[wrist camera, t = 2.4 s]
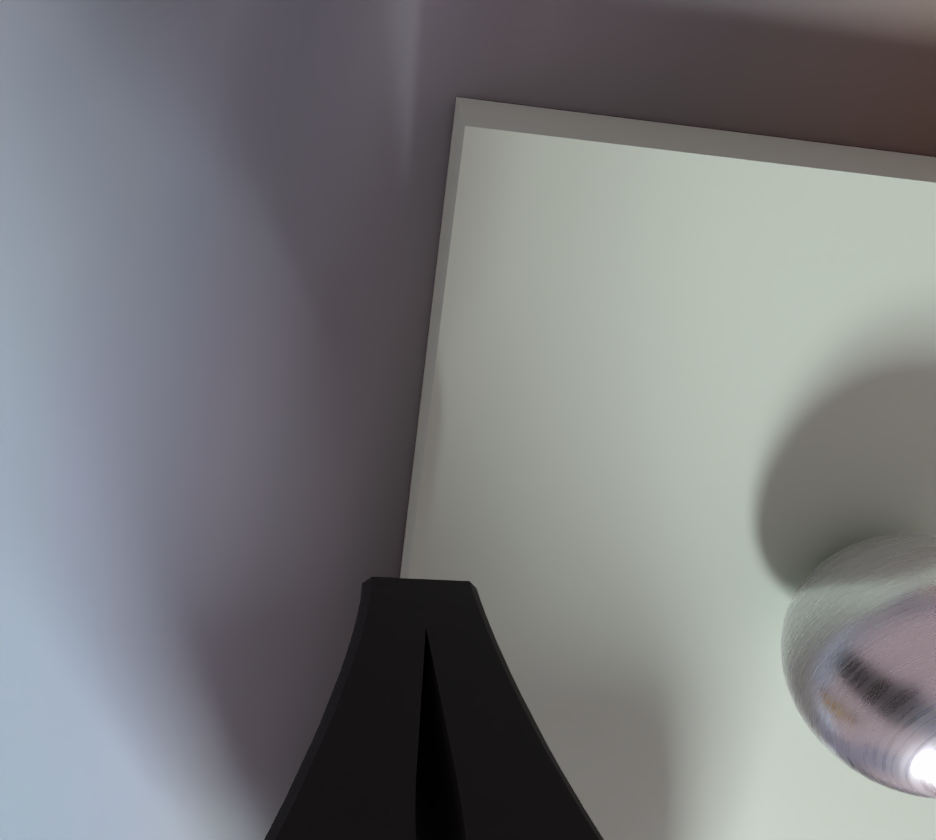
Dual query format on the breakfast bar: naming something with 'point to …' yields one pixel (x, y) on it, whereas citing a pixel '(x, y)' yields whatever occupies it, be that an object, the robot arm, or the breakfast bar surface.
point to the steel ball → (869, 658)
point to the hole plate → (674, 444)
